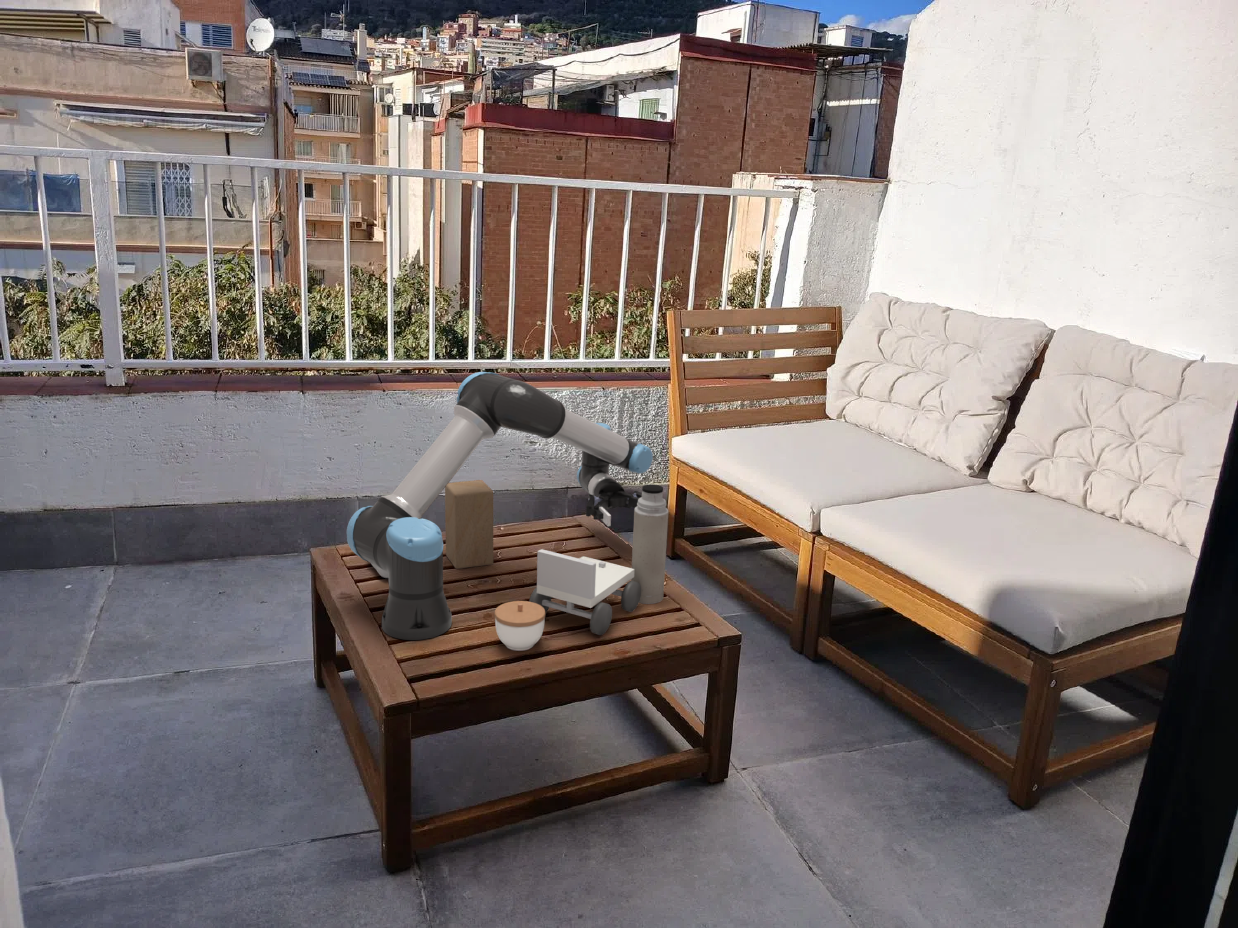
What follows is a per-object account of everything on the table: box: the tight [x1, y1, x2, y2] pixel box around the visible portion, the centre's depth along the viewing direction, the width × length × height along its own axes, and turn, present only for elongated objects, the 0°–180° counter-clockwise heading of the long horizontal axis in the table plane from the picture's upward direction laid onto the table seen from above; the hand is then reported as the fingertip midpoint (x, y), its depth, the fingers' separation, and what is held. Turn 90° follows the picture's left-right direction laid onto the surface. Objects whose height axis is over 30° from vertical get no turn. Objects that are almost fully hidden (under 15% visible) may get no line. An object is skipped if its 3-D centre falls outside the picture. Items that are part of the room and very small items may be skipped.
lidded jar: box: [494, 600, 546, 652], centre depth 208 cm, size 11×11×9 cm
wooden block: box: [444, 479, 494, 570], centre depth 250 cm, size 10×10×20 cm
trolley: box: [528, 548, 641, 636], centre depth 223 cm, size 21×18×17 cm
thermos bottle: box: [630, 483, 669, 605], centre depth 231 cm, size 8×8×28 cm
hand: (635, 518), depth 239 cm, fingers open, 13 cm apart
